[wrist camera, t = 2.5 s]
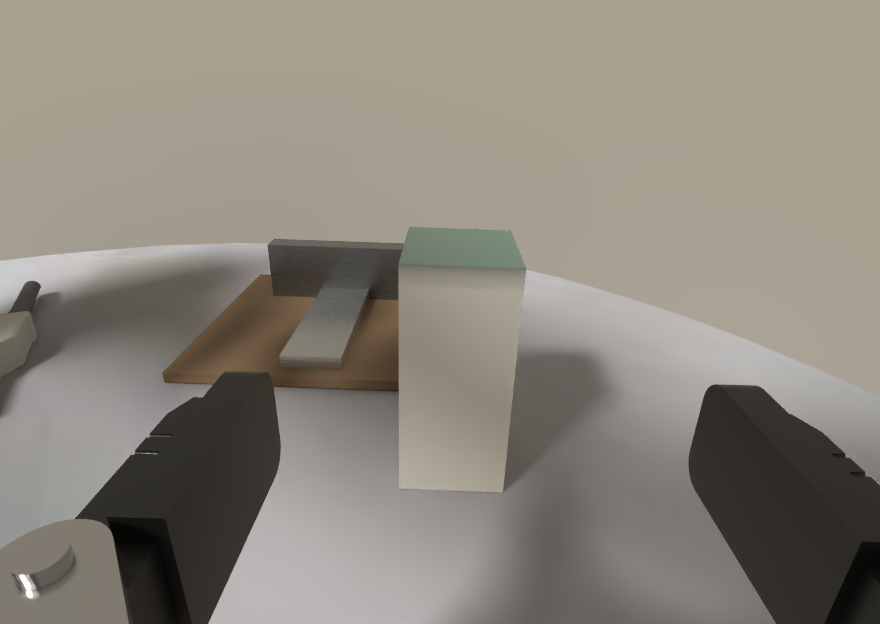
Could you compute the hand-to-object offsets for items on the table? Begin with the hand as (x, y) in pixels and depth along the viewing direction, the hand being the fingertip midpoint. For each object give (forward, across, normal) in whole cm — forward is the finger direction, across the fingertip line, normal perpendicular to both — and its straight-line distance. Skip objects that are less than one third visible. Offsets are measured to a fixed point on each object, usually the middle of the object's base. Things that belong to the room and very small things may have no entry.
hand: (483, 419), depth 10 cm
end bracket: (+29, +8, +10) cm, 31 cm away
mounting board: (+24, +8, +10) cm, 28 cm away
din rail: (+24, +8, +10) cm, 28 cm away
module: (+12, 0, +10) cm, 15 cm away
